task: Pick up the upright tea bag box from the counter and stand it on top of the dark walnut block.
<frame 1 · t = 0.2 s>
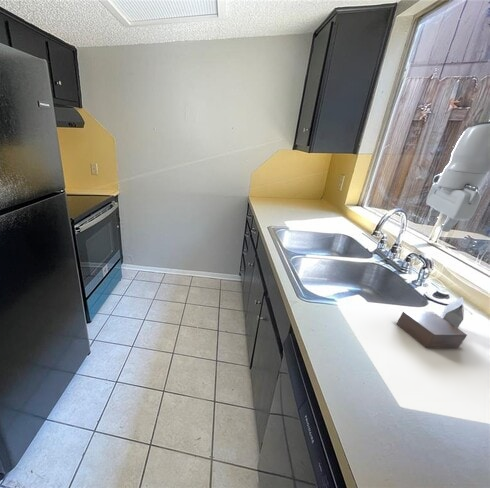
hand: (437, 226, 80), 30 cm above the worktop, tool pointing down, fingers open, 8 cm apart
tea bag: (445, 326, 83), on the worktop
walnut block: (425, 335, 79), on the worktop
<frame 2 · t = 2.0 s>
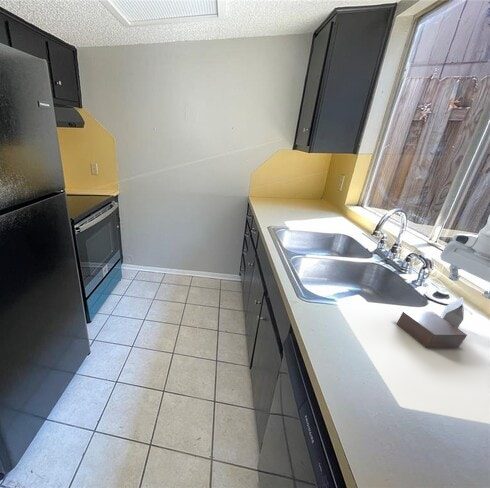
hand: (469, 288, 77), 15 cm above the worktop, tool pointing down, fingers open, 8 cm apart
nothing on the worktop moved.
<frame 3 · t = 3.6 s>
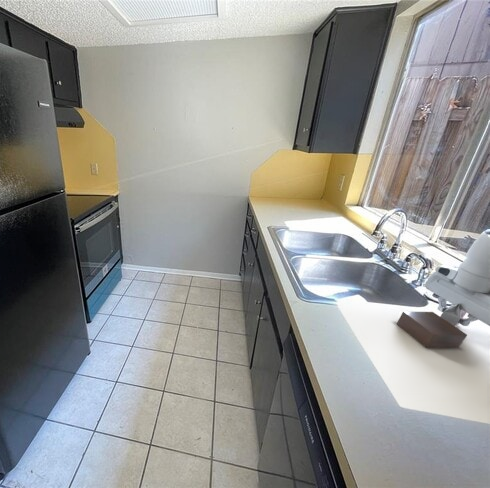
hand: (451, 317, 82), 4 cm above the worktop, tool pointing down, fingers closed on tea bag, 5 cm apart
tea bag: (445, 326, 83), on the worktop, touching gripper
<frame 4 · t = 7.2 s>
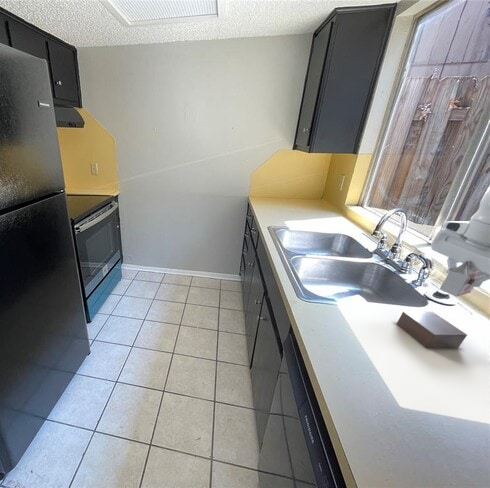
hand: (461, 279, 71), 20 cm above the worktop, tool pointing down, fingers closed on tea bag, 4 cm apart
tea bag: (454, 291, 73), point 16 cm above the worktop, touching gripper
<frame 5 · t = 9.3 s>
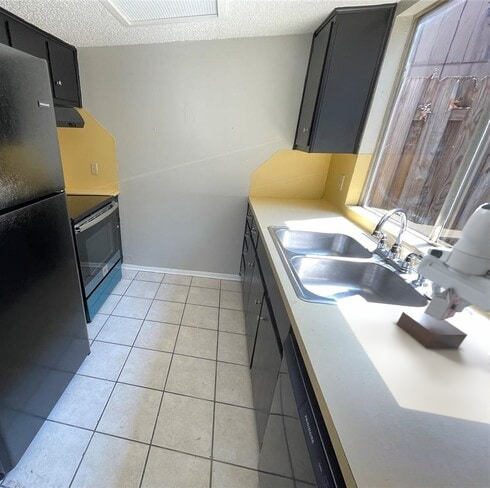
hand: (444, 304, 74), 12 cm above the worktop, tool pointing down, fingers closed on tea bag, 4 cm apart
tea bag: (438, 315, 76), point 8 cm above the worktop, touching gripper
when the fingers open (9 cm above the worktop, at t = 10.6 s): tea bag stays where it is, resting on walnut block.
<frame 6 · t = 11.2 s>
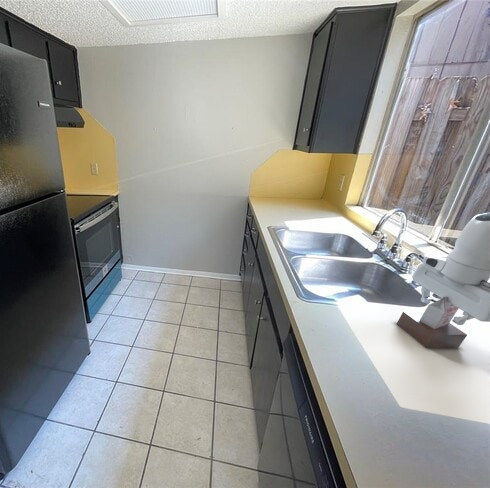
hand: (439, 312, 75), 9 cm above the worktop, tool pointing down, fingers open, 8 cm apart
tea bag: (433, 323, 77), point 5 cm above the worktop, touching walnut block
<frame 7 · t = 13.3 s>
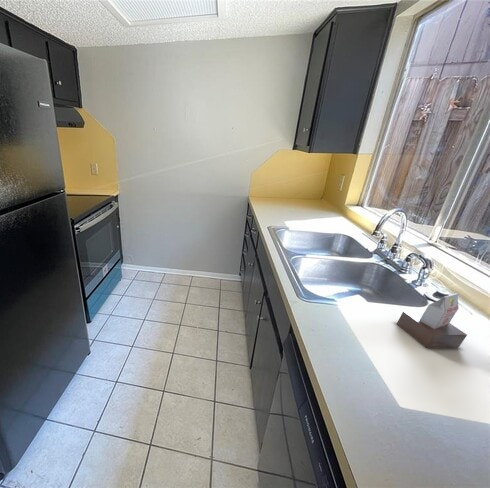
nothing on the worktop moved.
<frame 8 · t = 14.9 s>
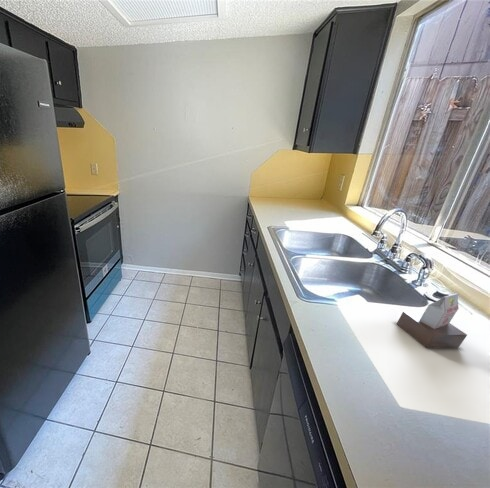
nothing on the worktop moved.
at the end: tea bag inside the target area on the walnut block (0.1 cm from its centre), point 4.8 cm above the walnut block's base; tea bag tilted 0°; the gripper is holding nothing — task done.
